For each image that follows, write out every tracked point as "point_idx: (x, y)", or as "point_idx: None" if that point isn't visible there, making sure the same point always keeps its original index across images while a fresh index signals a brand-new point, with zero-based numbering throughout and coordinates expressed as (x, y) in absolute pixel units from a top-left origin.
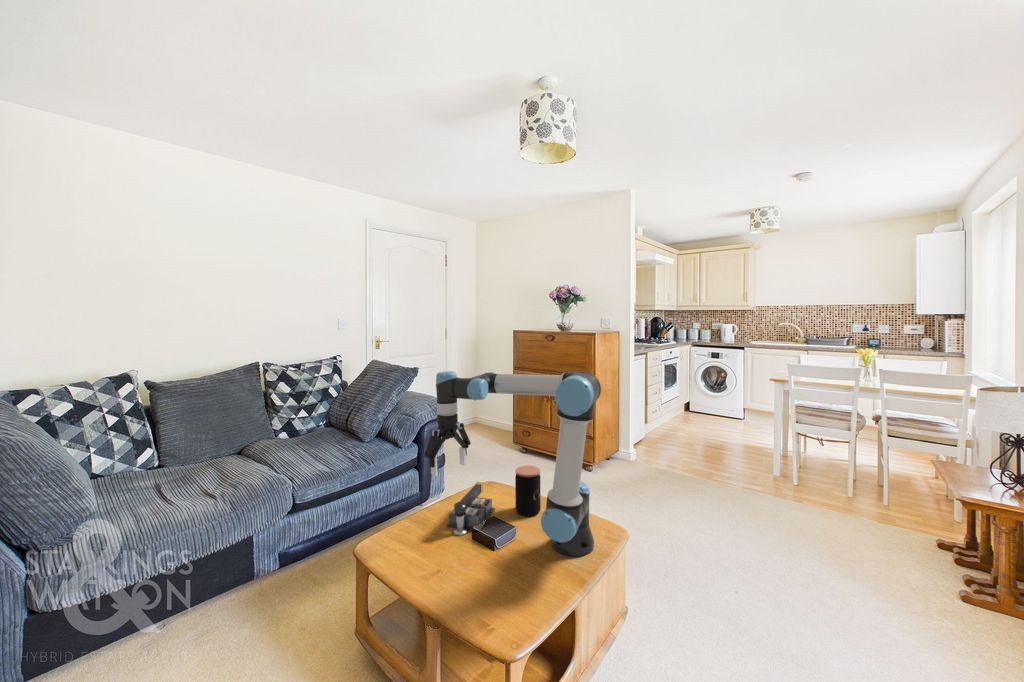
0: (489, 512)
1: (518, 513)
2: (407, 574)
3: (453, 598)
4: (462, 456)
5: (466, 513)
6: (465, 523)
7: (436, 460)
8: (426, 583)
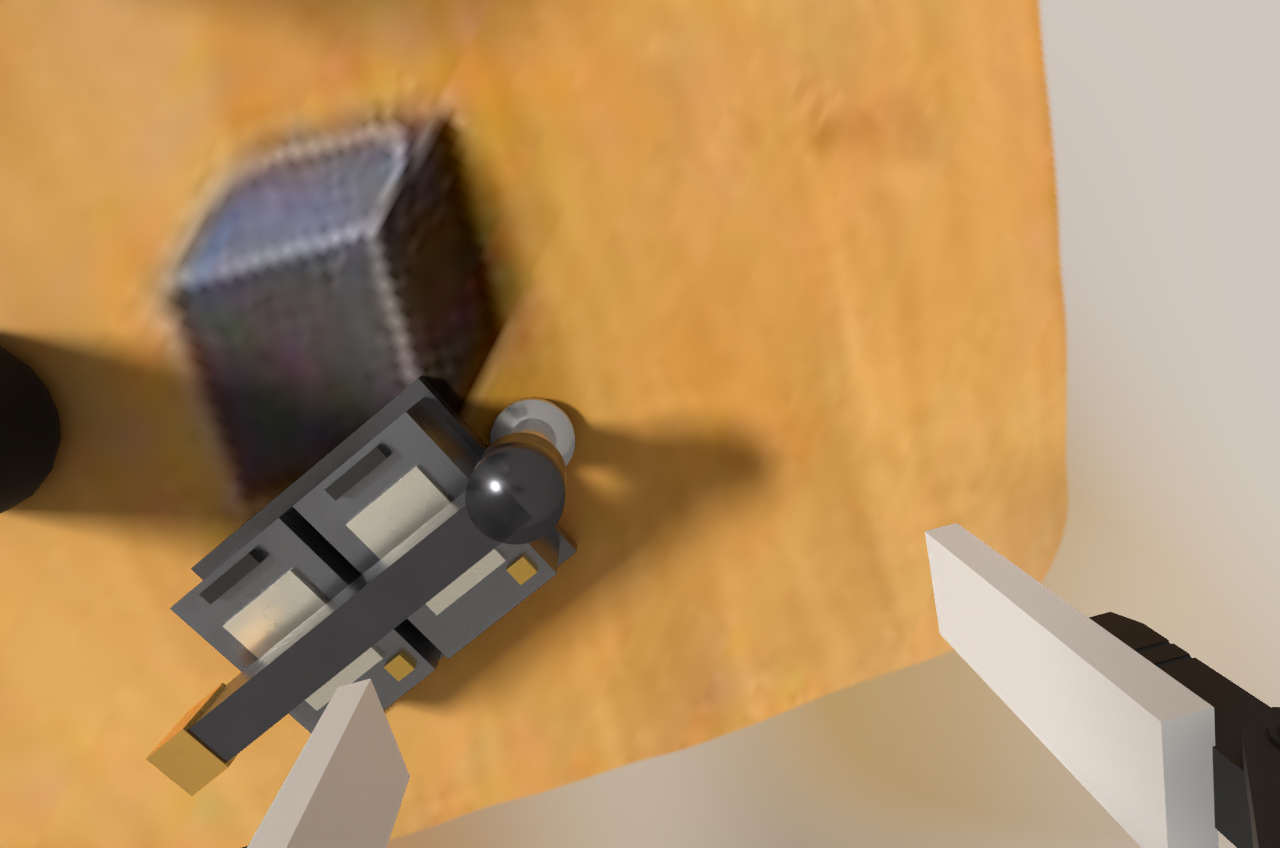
0: (255, 533)
1: (58, 428)
2: (970, 214)
3: None
4: (333, 836)
5: None
6: None
7: (1134, 678)
8: (929, 69)
